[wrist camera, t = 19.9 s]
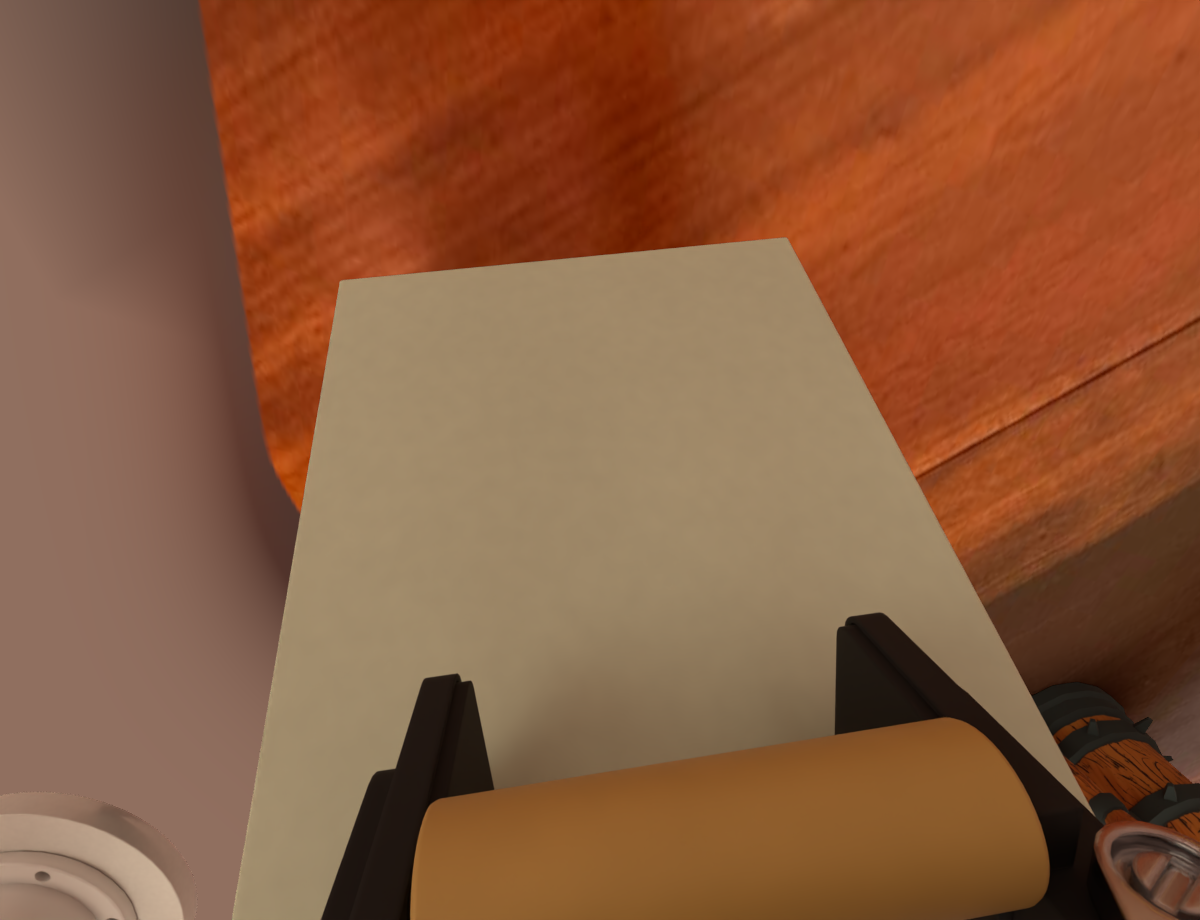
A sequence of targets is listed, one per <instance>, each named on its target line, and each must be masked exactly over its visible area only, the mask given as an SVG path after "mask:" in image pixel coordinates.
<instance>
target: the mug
mask: <svg viewBox="0 0 1200 920" xmlns="http://www.w3.org/2000/svg"><path fill="white" fill-rule="evenodd" d="M1031 697H1032V699H1033V700H1034V702H1035V704H1036V706H1037V708H1038V710H1039V712H1040V714H1041V715H1042V717H1043V719H1044V721H1045V723H1046V725H1047V727H1048V729H1049V730H1050V732H1051V734H1052V736H1053V738H1054V740H1055V742H1056V744H1057V745H1058V747H1059V749H1060V751H1061V753H1062V755H1063V757H1064V759H1065V761H1066V762H1067V764H1068V766H1069V768H1070V770H1071V772H1072V774H1073V776H1074V777H1075V779H1076V781H1077V783H1078V785H1079V787H1080V789H1081V791H1082V792H1083V794H1084V796H1085V798H1086V800H1087V802H1088V804H1089V806H1090V807H1091V809H1092V811H1093V813H1094V815H1095V817H1096V818H1097V819H1098V820H1099V821H1100V822H1101V823H1102V824H1103V825H1104V826H1105V825H1106V824H1109V823H1113V822H1117V821H1121V820H1125V821H1143V822H1147V823H1151V824H1155V825H1159V826H1163V827H1167V828H1169V829H1172V830H1174V831H1177V832H1179V833H1181V834H1184V835H1186V836H1189V837H1191V838H1193V839H1195V840H1197V841H1198V842H1200V784H1199V783H1195V784H1193V783H1192V782H1190V781H1189V780H1188V779H1187V778H1186V777H1185V776H1184V775H1183V774H1181V773H1180V772H1179V771H1178V770H1177V769H1176V768H1175V767H1174V766H1172V765H1171V764H1170V763H1169V761H1172V760H1173V759H1172V757H1171V756H1162V754H1161V752H1160V750H1159V748H1158V746H1157V744H1156V742H1155V741H1154V740H1153V739H1152V738H1151V737H1150V736H1149V735H1148V734H1147V733H1145V732H1146V731H1147V729H1148V727H1149V726H1150V724H1151V723H1152V721H1153V720H1152V719H1150V718H1149V717H1147V718H1145V719H1143V720H1141V721H1139V722H1137V723H1135V724H1134V723H1133V721H1132V720H1131V719H1129V718H1128V717H1127V716H1126V715H1125V712H1124V708H1123V707H1122V706H1121V705H1120V704H1119V703H1118V702H1116V701H1115V700H1114V699H1113V698H1112V697H1111V696H1110V695H1108V694H1107V693H1106V692H1104V691H1103V690H1101V689H1100V688H1099V687H1096V686H1092V685H1088V684H1084V683H1079V682H1073V683H1067V684H1060V685H1054V686H1051V687H1049V688H1047V689H1045V690H1043V691H1041V692H1039V693H1037V694H1035V695H1033V696H1031Z"/></svg>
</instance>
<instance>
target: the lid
mask: <svg viewBox="0 0 1200 920" xmlns="http://www.w3.org/2000/svg"><path fill="white" fill-rule="evenodd" d="M878 612H880V613H884V614H885V615H887V616H888V617H889V618H890V619H891V620H892V621H893V622H894V623H895V624H896V625H897V626H898V627H899V628H900V629H901V630H902V631H903V632H904V633H905V634H906V635H907V636H908V637H909V638H910V639H911V640H912V641H913V642H914V643H915V644H916V645H918V646H919V647H920V648H921V649H922V650H923V651H924V652H925V653H926V654H927V655H928V656H929V657H930V658H931V659H932V660H933V661H934V662H935V663H936V664H937V665H938V666H939V667H940V668H941V669H942V670H943V671H944V672H945V673H946V674H947V675H948V676H949V677H950V678H951V679H952V680H953V681H954V682H955V683H956V684H957V685H958V686H960V687H961V688H962V689H964V690H965V691H966V692H968V693H969V694H970V695H971V696H972V697H973V698H974V699H975V700H976V701H977V702H978V703H979V704H980V705H981V706H982V707H983V708H984V709H985V710H986V711H987V712H988V713H989V714H990V715H991V716H992V717H993V718H994V719H995V720H996V721H997V722H998V723H999V724H1000V725H1002V726H1003V727H1004V728H1005V729H1006V730H1007V731H1008V732H1009V733H1010V734H1011V735H1012V736H1013V737H1014V738H1015V739H1016V740H1017V741H1018V742H1019V743H1020V744H1021V745H1022V746H1023V747H1024V748H1025V749H1026V750H1027V751H1028V752H1029V753H1030V754H1031V755H1032V756H1033V757H1034V758H1035V759H1036V760H1038V761H1039V762H1040V763H1041V764H1042V765H1043V766H1044V767H1045V768H1046V769H1047V770H1048V771H1049V772H1050V773H1051V774H1052V775H1053V776H1054V777H1055V778H1056V779H1057V780H1058V781H1059V782H1060V783H1061V784H1062V785H1063V786H1064V787H1065V788H1066V789H1067V790H1068V791H1069V792H1070V793H1071V794H1072V795H1073V796H1075V797H1076V798H1077V799H1078V800H1079V801H1080V802H1081V803H1082V804H1083V805H1084V806H1085V807H1086V808H1087V809H1088V810H1089V811H1090V812H1091V813H1092V814H1093V815H1094V813H1093V811H1092V809H1091V807H1090V806H1089V804H1088V802H1087V800H1086V798H1085V796H1084V794H1083V792H1082V791H1081V789H1080V787H1079V785H1078V783H1077V781H1076V779H1075V777H1074V776H1073V774H1072V772H1071V770H1070V768H1069V766H1068V764H1067V762H1066V761H1065V759H1064V757H1063V755H1062V753H1061V751H1060V749H1059V747H1058V745H1057V744H1056V742H1055V740H1054V738H1053V736H1052V734H1051V732H1050V730H1049V729H1048V727H1047V725H1046V723H1045V721H1044V719H1043V717H1042V715H1041V714H1040V712H1039V710H1038V708H1037V706H1036V704H1035V702H1034V700H1033V699H1032V697H1031V695H1030V693H1029V691H1028V689H1027V687H1026V685H1025V683H1024V682H1023V680H1022V678H1021V676H1020V674H1019V672H1018V670H1017V668H1016V667H1015V665H1014V663H1013V661H1012V659H1011V657H1010V655H1009V653H1008V652H1007V650H1006V648H1005V646H1004V644H1003V642H1002V640H1001V638H1000V637H999V635H998V633H997V631H996V629H995V627H994V625H993V623H992V621H991V620H990V618H989V616H988V614H987V612H986V610H985V608H984V606H983V605H982V603H981V601H980V599H979V597H978V595H977V593H976V591H975V590H974V588H973V586H972V584H971V582H970V580H969V578H968V576H967V575H966V573H965V571H964V569H963V567H962V565H961V563H960V561H959V559H958V558H957V556H956V554H955V552H954V550H953V548H952V546H951V544H950V543H949V541H948V539H947V537H946V535H945V533H944V531H943V529H942V528H941V526H940V524H939V522H938V520H937V518H936V516H935V514H934V513H933V511H932V509H931V507H930V505H929V503H928V501H927V499H926V497H925V496H924V494H923V492H922V490H921V488H920V486H919V484H918V482H917V481H916V479H915V477H914V475H913V473H912V471H911V469H910V467H909V466H908V464H907V462H906V460H905V458H904V456H903V454H902V452H901V450H900V449H899V447H898V445H897V443H896V441H895V439H894V437H893V435H892V434H891V432H890V430H889V428H888V426H887V424H886V422H885V420H884V419H883V417H882V415H881V413H880V411H879V409H878V407H877V405H876V404H875V402H874V400H873V398H872V396H871V394H870V392H869V390H868V388H867V387H866V385H865V383H864V381H863V379H862V377H861V375H860V373H859V372H858V370H857V368H856V366H855V364H854V362H853V360H852V358H851V357H850V355H849V353H848V351H847V349H846V347H845V345H844V343H843V342H842V340H841V338H840V336H839V334H838V332H837V330H836V328H835V326H834V325H833V323H832V321H831V319H830V317H829V315H828V313H827V311H826V310H825V308H824V306H823V304H822V302H821V300H820V298H819V296H818V295H817V293H816V291H815V289H814V287H813V285H812V283H811V281H810V280H809V278H808V276H807V274H806V272H805V270H804V268H803V266H802V264H801V263H800V261H799V259H798V257H797V255H796V253H795V251H794V249H793V248H792V246H791V244H790V242H789V240H788V238H786V237H784V238H774V239H764V240H753V241H743V242H733V243H722V244H712V245H702V246H691V247H681V248H671V249H660V250H650V251H640V252H629V253H619V254H609V255H598V256H588V257H578V258H567V259H557V260H547V261H536V262H526V263H516V264H505V265H495V266H485V267H474V268H464V269H454V270H443V271H433V272H423V273H413V274H402V275H392V276H382V277H371V278H361V279H351V280H342V281H340V284H339V290H338V296H337V302H336V308H335V314H334V320H333V326H332V332H331V337H330V343H329V349H328V355H327V361H326V367H325V373H324V379H323V385H322V391H321V396H320V402H319V408H318V414H317V420H316V426H315V432H314V438H313V444H312V450H311V456H310V461H309V467H308V473H307V479H306V485H305V491H304V497H303V503H302V509H301V515H300V520H299V526H298V533H297V538H296V544H295V550H294V556H293V562H292V568H291V574H290V579H289V586H288V591H287V597H286V603H285V609H284V615H283V621H282V627H281V633H280V639H279V644H278V650H277V656H276V662H275V668H274V674H273V680H272V686H271V692H270V698H269V703H268V709H267V716H266V722H265V727H264V733H263V739H262V745H261V751H260V757H259V763H258V768H257V774H256V780H255V786H254V792H253V798H252V804H251V810H250V817H249V821H248V827H247V833H246V839H245V845H244V851H243V857H242V864H241V869H240V875H239V881H238V887H237V892H236V898H235V904H234V910H233V916H232V920H321V917H322V915H323V912H324V909H325V906H326V903H327V900H328V898H329V895H330V892H331V889H332V886H333V883H334V881H335V878H336V875H337V872H338V869H339V866H340V864H341V861H342V858H343V855H344V852H345V849H346V847H347V844H348V841H349V838H350V835H351V832H352V830H353V827H354V824H355V821H356V818H357V815H358V812H359V810H360V807H361V804H362V801H363V798H364V795H365V793H366V790H367V787H368V784H369V782H370V780H371V778H372V776H373V775H374V774H375V773H376V772H377V771H382V770H389V769H395V768H396V765H397V762H398V759H399V755H400V752H401V749H402V746H403V742H404V739H405V736H406V733H407V729H408V726H409V723H410V720H411V716H412V713H413V710H414V707H415V703H416V700H417V697H418V694H419V690H420V687H421V684H422V682H423V679H425V678H428V677H435V676H442V675H449V674H456V673H458V674H459V675H460V677H461V681H462V682H464V681H470V680H471V681H472V683H473V686H474V691H475V696H476V700H477V705H478V710H479V715H480V720H481V725H482V730H483V735H484V740H485V745H486V750H487V755H488V760H489V765H490V770H491V775H492V780H493V785H494V790H491V791H485V792H479V793H472V794H466V795H460V796H454V797H448V798H441V799H438V800H436V801H435V802H433V803H432V804H431V805H430V806H429V807H428V809H427V811H426V813H425V816H424V818H423V822H422V825H421V828H420V832H419V836H418V841H417V846H416V851H415V858H414V865H413V874H412V886H411V904H410V920H967V919H973V918H978V917H983V916H989V915H994V914H999V913H1005V912H1010V911H1015V910H1021V909H1026V908H1030V907H1032V906H1035V905H1036V904H1037V903H1038V902H1039V901H1040V900H1041V899H1042V898H1043V896H1044V895H1045V893H1046V891H1047V888H1048V884H1049V877H1050V864H1049V856H1048V850H1047V845H1046V840H1045V837H1044V833H1043V830H1042V827H1041V824H1040V821H1039V818H1038V816H1037V813H1036V811H1035V808H1034V806H1033V804H1032V802H1031V799H1030V797H1029V795H1028V794H1027V792H1026V790H1025V788H1024V786H1023V784H1022V782H1021V781H1020V779H1019V777H1018V776H1017V774H1016V772H1015V771H1014V770H1013V768H1012V767H1011V765H1010V764H1009V762H1008V761H1007V760H1006V758H1005V757H1004V756H1003V754H1002V753H1001V752H1000V751H999V749H998V748H997V747H996V746H995V745H994V744H993V743H992V742H991V741H990V740H989V739H988V738H987V737H986V736H985V735H984V734H983V733H981V732H980V731H979V730H977V729H976V728H975V727H973V726H971V725H970V724H968V723H966V722H964V721H961V720H957V719H954V718H945V717H944V718H938V719H931V720H925V721H919V722H913V723H907V724H900V725H894V726H888V727H882V728H876V729H869V730H863V731H857V732H851V733H845V734H838V735H835V688H836V636H837V630H838V628H839V627H842V626H845V622H846V619H847V618H848V617H850V616H857V615H864V614H871V613H878ZM1094 816H1095V815H1094Z"/></svg>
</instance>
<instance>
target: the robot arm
mask: <svg viewBox="0 0 1200 920" xmlns="http://www.w3.org/2000/svg"><path fill="white" fill-rule="evenodd" d="M944 717H945V718H954V719H957V720H961V721H964V722H966V723H968V724H970V725H971V726H973V727H975V728H976V729H977V730H979V731H980V732H981V733H983V734H984V735H985V736H986V737H987V738H988V739H989V740H990V741H991V742H992V743H993V744H994V745H995V746H996V747H997V748H998V749H999V751H1000V752H1001V753H1002V754H1003V756H1004V757H1005V758H1006V760H1007V761H1008V762H1009V764H1010V765H1011V767H1012V768H1013V770H1014V771H1015V772H1016V774H1017V776H1018V777H1019V779H1020V781H1021V782H1022V784H1023V786H1024V788H1025V790H1026V792H1027V794H1028V795H1029V797H1030V799H1031V802H1032V804H1033V806H1034V808H1035V811H1036V813H1037V816H1038V818H1039V821H1040V824H1041V827H1042V830H1043V833H1044V837H1045V840H1046V845H1047V850H1048V856H1049V864H1050V877H1049V884H1048V888H1047V891H1046V893H1045V895H1044V896H1043V898H1042V899H1041V900H1040V901H1039V902H1038V903H1037V904H1036V905H1035V906H1032V907H1030V908H1026V909H1021V910H1015V911H1010V912H1005V913H999V914H994V915H989V916H983V917H978V918H973V919H967V920H1200V842H1198V841H1197V840H1195V839H1193V838H1191V837H1189V836H1186V835H1184V834H1181V833H1179V832H1177V831H1174V830H1172V829H1169V828H1167V827H1163V826H1159V825H1155V824H1151V823H1147V822H1143V821H1125V820H1121V821H1117V822H1113V823H1109V824H1106V825H1105V826H1104V825H1103V824H1102V823H1101V822H1100V821H1099V820H1098V819H1097V818H1096V817H1095V816H1094V815H1093V814H1092V813H1091V812H1090V811H1089V810H1088V809H1087V808H1086V807H1085V806H1084V805H1083V804H1082V803H1081V802H1080V801H1079V800H1078V799H1077V798H1076V797H1075V796H1073V795H1072V794H1071V793H1070V792H1069V791H1068V790H1067V789H1066V788H1065V787H1064V786H1063V785H1062V784H1061V783H1060V782H1059V781H1058V780H1057V779H1056V778H1055V777H1054V776H1053V775H1052V774H1051V773H1050V772H1049V771H1048V770H1047V769H1046V768H1045V767H1044V766H1043V765H1042V764H1041V763H1040V762H1039V761H1038V760H1036V759H1035V758H1034V757H1033V756H1032V755H1031V754H1030V753H1029V752H1028V751H1027V750H1026V749H1025V748H1024V747H1023V746H1022V745H1021V744H1020V743H1019V742H1018V741H1017V740H1016V739H1015V738H1014V737H1013V736H1012V735H1011V734H1010V733H1009V732H1008V731H1007V730H1006V729H1005V728H1004V727H1003V726H1002V725H1000V724H999V723H998V722H997V721H996V720H995V719H994V718H993V717H992V716H991V715H990V714H989V713H988V712H987V711H986V710H985V709H984V708H983V707H982V706H981V705H980V704H979V703H978V702H977V701H976V700H975V699H974V698H973V697H972V696H971V695H970V694H969V693H968V692H966V691H965V690H964V689H962V688H961V687H960V686H958V685H957V684H956V683H955V682H954V681H953V680H952V679H951V678H950V677H949V676H948V675H947V674H946V673H945V672H944V671H943V670H942V669H941V668H940V667H939V666H938V665H937V664H936V663H935V662H934V661H933V660H932V659H931V658H930V657H929V656H928V655H927V654H926V653H925V652H924V651H923V650H922V649H921V648H920V647H919V646H918V645H916V644H915V643H914V642H913V641H912V640H911V639H910V638H909V637H908V636H907V635H906V634H905V633H904V632H903V631H902V630H901V629H900V628H899V627H898V626H897V625H896V624H895V623H894V622H893V621H892V620H891V619H890V618H889V617H888V616H887V615H885V614H884V613H880V612H878V613H871V614H864V615H857V616H850V617H848V618H847V619H846V622H845V626H842V627H839V628H838V630H837V636H836V688H835V735H838V734H845V733H851V732H857V731H863V730H869V729H876V728H882V727H888V726H894V725H900V724H907V723H913V722H919V721H925V720H931V719H938V718H944ZM491 790H494V785H493V780H492V775H491V770H490V765H489V760H488V755H487V750H486V745H485V740H484V735H483V730H482V725H481V720H480V715H479V710H478V705H477V700H476V696H475V691H474V686H473V683H472V681H471V680H470V681H464V682H462V681H461V677H460V675H459V674H458V673H456V674H449V675H442V676H435V677H428V678H425V679H423V682H422V684H421V687H420V690H419V694H418V697H417V700H416V703H415V707H414V710H413V713H412V716H411V720H410V723H409V726H408V729H407V733H406V736H405V739H404V742H403V746H402V749H401V752H400V755H399V759H398V762H397V765H396V768H395V769H389V770H382V771H377V772H376V773H375V774H374V775H373V776H372V778H371V780H370V782H369V784H368V787H367V790H366V793H365V795H364V798H363V801H362V804H361V807H360V810H359V812H358V815H357V818H356V821H355V824H354V827H353V830H352V832H351V835H350V838H349V841H348V844H347V847H346V849H345V852H344V855H343V858H342V861H341V864H340V866H339V869H338V872H337V875H336V878H335V881H334V883H333V886H332V889H331V892H330V895H329V898H328V900H327V903H326V906H325V909H324V912H323V915H322V917H321V920H410V904H411V886H412V874H413V865H414V858H415V851H416V846H417V841H418V836H419V832H420V828H421V825H422V822H423V818H424V816H425V813H426V811H427V809H428V807H429V806H430V805H431V804H432V803H433V802H435V801H436V800H438V799H441V798H448V797H454V796H460V795H466V794H472V793H479V792H485V791H491ZM0 920H137V916H136V914H135V911H134V908H133V906H132V903H131V902H130V900H129V899H128V897H127V896H126V894H125V893H124V891H123V890H122V889H121V888H120V887H119V886H118V885H117V884H116V883H115V882H114V881H113V880H112V879H110V878H109V877H108V876H106V875H105V874H103V873H102V872H100V871H99V870H97V869H95V868H93V867H91V866H89V865H87V864H85V863H83V862H81V861H78V860H75V859H71V858H68V857H65V856H62V855H57V854H51V853H45V852H33V851H16V852H4V853H0Z"/></svg>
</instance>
